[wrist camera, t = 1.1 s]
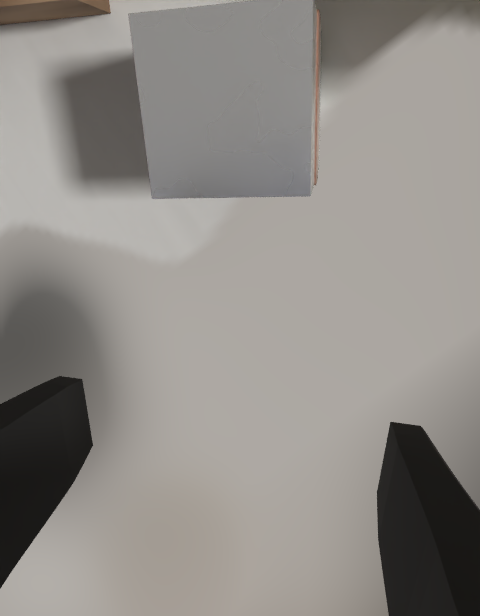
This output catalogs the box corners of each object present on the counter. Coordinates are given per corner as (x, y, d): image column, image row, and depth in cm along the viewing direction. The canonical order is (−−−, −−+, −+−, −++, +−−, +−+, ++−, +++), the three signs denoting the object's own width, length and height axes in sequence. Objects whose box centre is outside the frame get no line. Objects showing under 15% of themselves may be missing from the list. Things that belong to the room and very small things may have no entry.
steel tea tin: (204, 172, 18) (150, 200, 13) (194, 41, 17) (125, 11, 11) (320, 169, 18) (312, 197, 12) (323, 30, 16) (315, -9, 10)
